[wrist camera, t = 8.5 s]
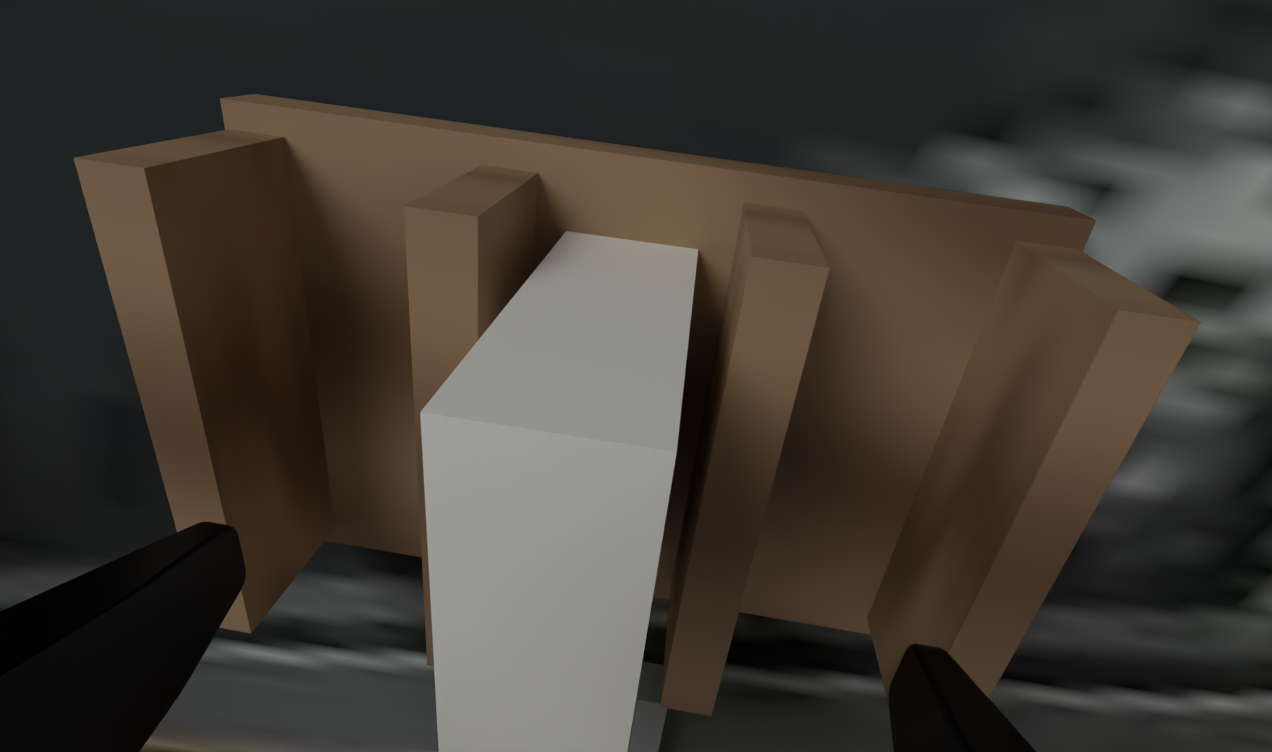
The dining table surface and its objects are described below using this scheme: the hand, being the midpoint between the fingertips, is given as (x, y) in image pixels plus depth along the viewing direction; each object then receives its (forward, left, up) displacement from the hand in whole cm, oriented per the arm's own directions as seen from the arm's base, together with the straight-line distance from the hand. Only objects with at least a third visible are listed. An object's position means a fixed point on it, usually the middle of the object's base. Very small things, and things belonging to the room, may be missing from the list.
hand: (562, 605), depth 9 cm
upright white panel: (0, 0, -5) cm, 5 cm away
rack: (0, 0, -6) cm, 6 cm away
